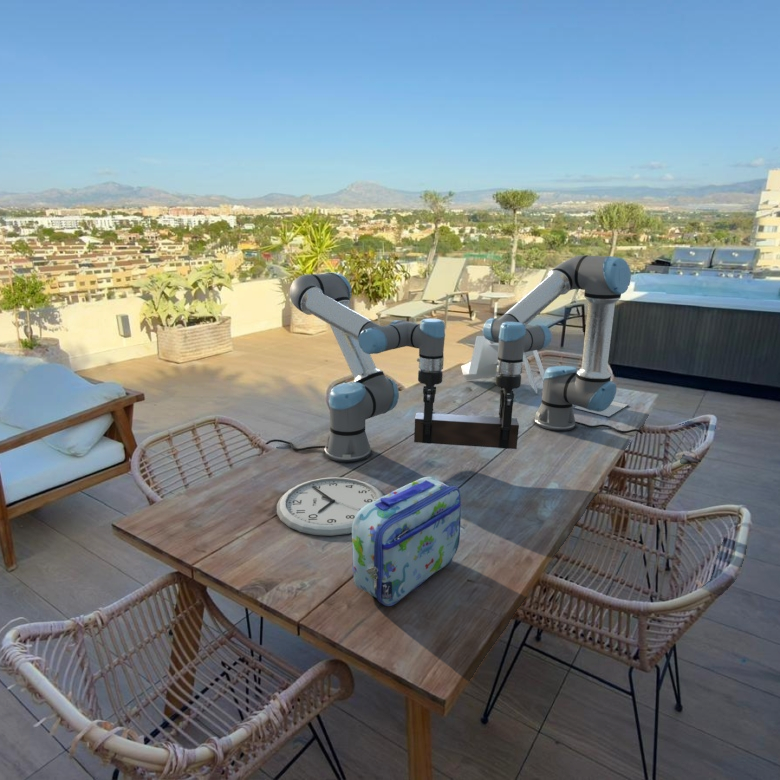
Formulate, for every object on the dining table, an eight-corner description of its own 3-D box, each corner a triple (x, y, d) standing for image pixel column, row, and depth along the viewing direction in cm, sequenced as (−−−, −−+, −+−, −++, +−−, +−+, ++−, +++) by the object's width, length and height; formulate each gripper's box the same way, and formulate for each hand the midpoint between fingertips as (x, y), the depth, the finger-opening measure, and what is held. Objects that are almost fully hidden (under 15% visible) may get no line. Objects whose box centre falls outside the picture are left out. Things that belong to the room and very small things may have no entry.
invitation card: (608, 416, 214) (573, 407, 224) (608, 416, 214) (573, 408, 224) (628, 404, 229) (594, 396, 238) (628, 405, 229) (594, 397, 238)
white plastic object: (482, 422, 260) (461, 399, 236) (463, 348, 283) (442, 320, 258) (555, 398, 248) (541, 371, 224) (529, 323, 270) (514, 291, 246)
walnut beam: (514, 441, 168) (516, 418, 166) (516, 449, 163) (519, 425, 160) (415, 435, 172) (416, 412, 169) (414, 442, 166) (414, 418, 164)
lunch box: (381, 619, 101) (382, 525, 95) (345, 592, 109) (344, 503, 102) (464, 563, 119) (469, 480, 113) (428, 543, 126) (432, 464, 120)
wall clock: (392, 527, 129) (268, 531, 127) (391, 533, 130) (269, 537, 127) (383, 473, 158) (282, 475, 155) (383, 478, 158) (282, 480, 156)
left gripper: (420, 361, 171) (417, 427, 178) (416, 377, 153) (413, 450, 160) (443, 362, 170) (439, 428, 177) (442, 379, 152) (438, 451, 159)
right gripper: (494, 364, 168) (488, 431, 175) (498, 382, 150) (492, 455, 157) (517, 366, 167) (511, 432, 174) (525, 383, 149) (518, 457, 156)
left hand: (427, 438), depth 168 cm, fingers closed on walnut beam, 6 cm apart
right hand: (502, 443), depth 166 cm, fingers closed on walnut beam, 6 cm apart
